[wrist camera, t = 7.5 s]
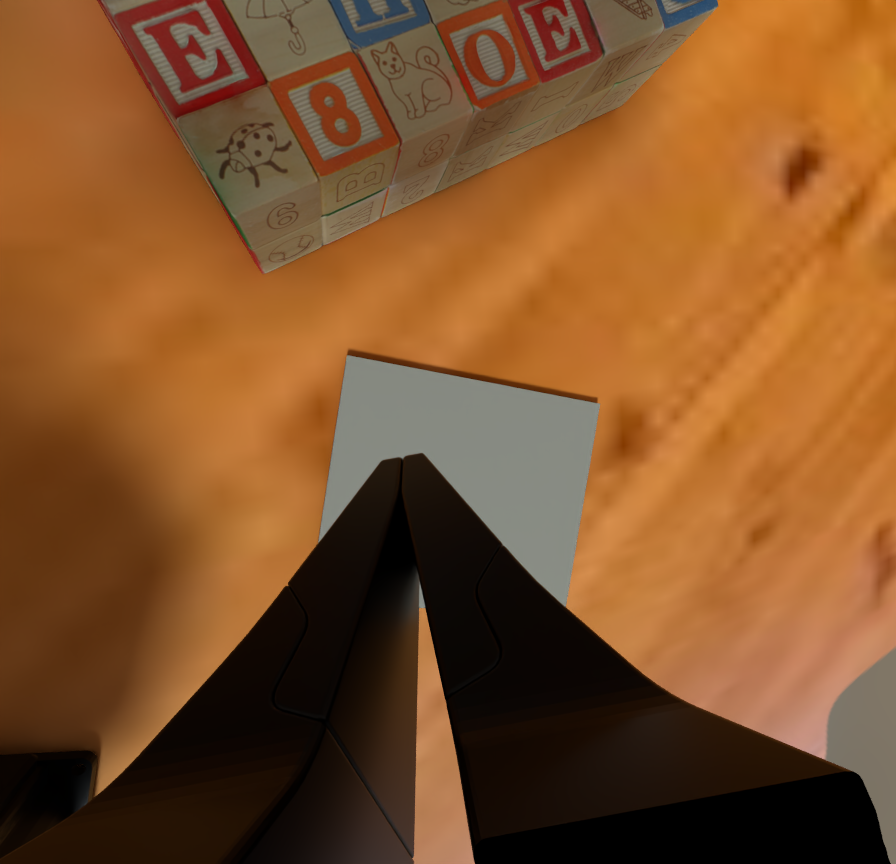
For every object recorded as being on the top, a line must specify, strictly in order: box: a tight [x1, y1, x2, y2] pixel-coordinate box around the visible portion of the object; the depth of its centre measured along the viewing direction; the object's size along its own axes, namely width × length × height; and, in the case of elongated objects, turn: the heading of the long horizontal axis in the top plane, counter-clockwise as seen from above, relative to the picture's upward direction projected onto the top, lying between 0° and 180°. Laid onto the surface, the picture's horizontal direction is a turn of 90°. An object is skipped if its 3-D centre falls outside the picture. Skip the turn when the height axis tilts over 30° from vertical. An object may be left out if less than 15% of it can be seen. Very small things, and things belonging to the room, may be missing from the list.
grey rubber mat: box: [318, 355, 600, 608], centre depth 22 cm, size 12×14×1 cm
